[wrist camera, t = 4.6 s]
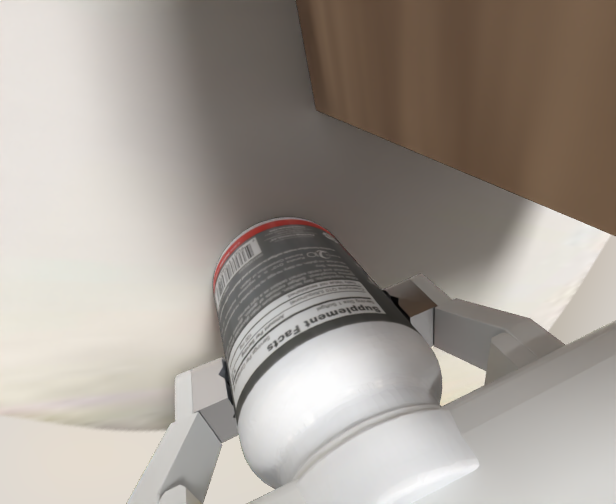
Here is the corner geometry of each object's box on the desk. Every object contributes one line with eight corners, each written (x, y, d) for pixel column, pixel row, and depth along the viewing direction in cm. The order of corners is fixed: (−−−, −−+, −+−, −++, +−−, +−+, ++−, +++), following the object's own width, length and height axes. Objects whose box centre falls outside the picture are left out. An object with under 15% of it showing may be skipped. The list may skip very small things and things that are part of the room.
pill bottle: (342, 302, 17) (498, 533, 9) (229, 339, 16) (291, 647, 8) (334, 196, 14) (565, 403, 6) (193, 231, 12) (234, 561, 4)
